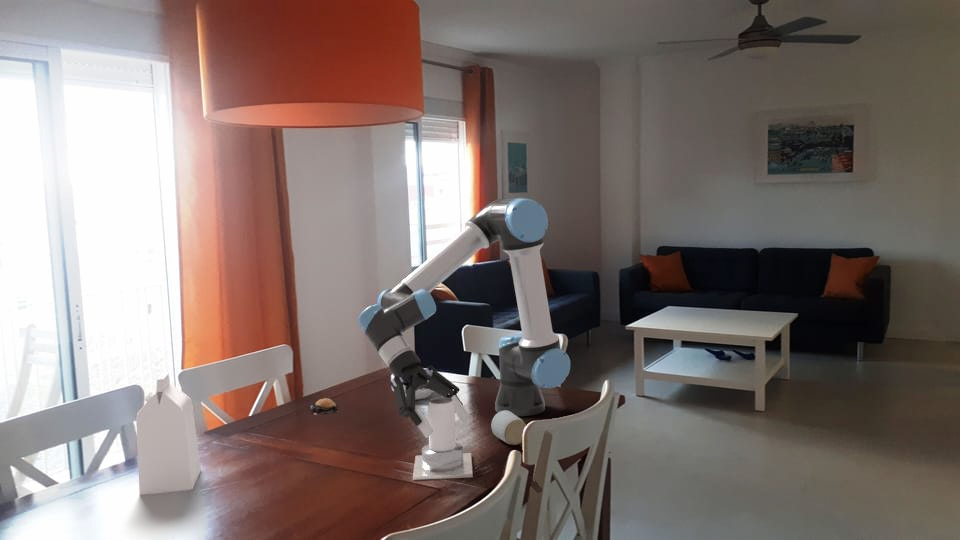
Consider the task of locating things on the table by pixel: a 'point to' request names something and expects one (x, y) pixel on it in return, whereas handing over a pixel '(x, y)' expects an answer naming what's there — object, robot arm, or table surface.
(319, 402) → the toy turtle
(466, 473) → the duct collar
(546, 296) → the robot arm
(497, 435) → the ceramic mug
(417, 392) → the white bowl
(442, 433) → the can
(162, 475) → the milk
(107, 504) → the table surface
